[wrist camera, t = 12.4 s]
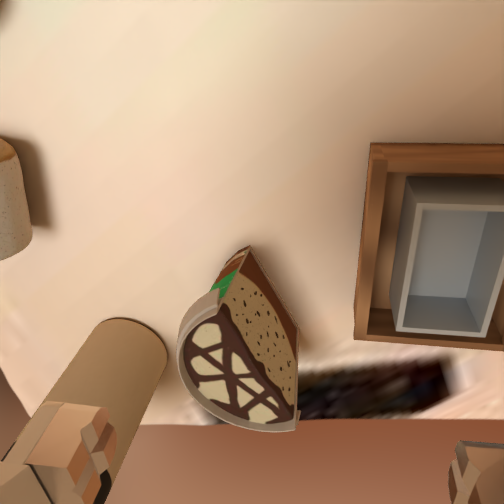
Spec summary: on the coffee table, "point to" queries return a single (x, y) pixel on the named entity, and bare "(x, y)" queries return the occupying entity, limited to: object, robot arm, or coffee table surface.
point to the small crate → (448, 255)
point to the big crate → (386, 231)
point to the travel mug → (113, 382)
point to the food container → (242, 349)
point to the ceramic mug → (12, 204)
